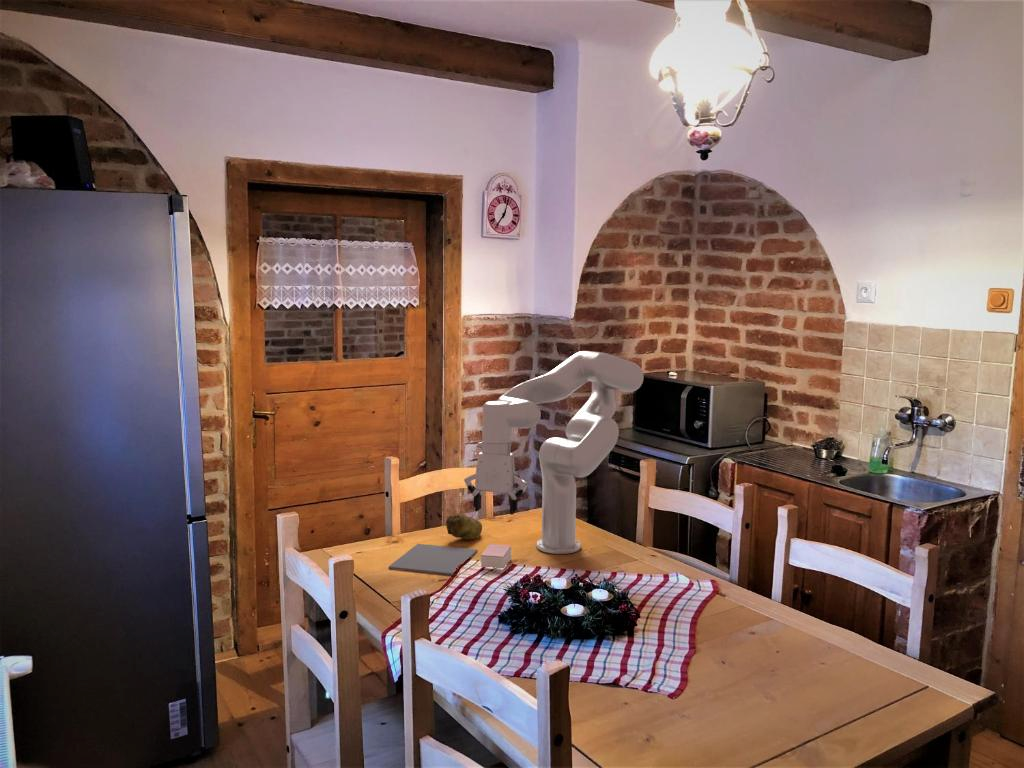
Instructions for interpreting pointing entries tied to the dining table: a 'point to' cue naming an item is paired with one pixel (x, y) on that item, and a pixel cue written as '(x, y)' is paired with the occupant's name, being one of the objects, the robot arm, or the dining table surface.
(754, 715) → the dining table surface
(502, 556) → the card box
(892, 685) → the dining table surface
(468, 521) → the olive green lumpy rock
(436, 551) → the mat
